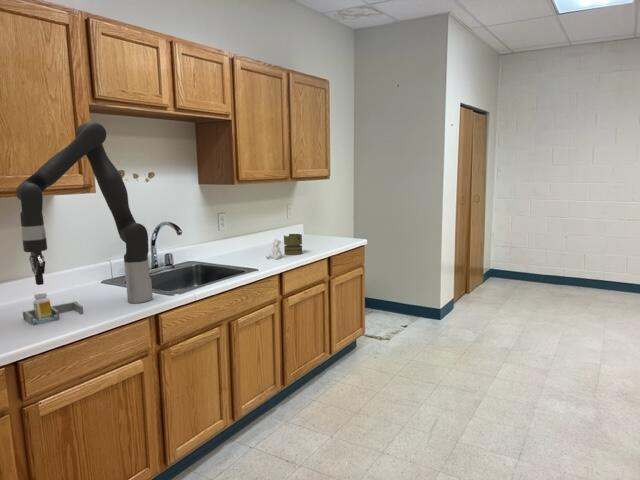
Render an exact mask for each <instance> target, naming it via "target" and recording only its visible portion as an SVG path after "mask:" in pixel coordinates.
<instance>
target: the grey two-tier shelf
mask: <svg viewBox="0 0 640 480" xmlns="http://www.w3.org/2000/svg"><path fill="white" fill-rule="evenodd" d="M50 306H51V312H52V318H54V315H58V318H59V320H60V319H61V318H60V314H61V313H66V312H71V311H75V312H77V313H78V314H80V315H84V306H83V305H81V304H80V303H78V301H71V302H67V303H62V304H56V305H50ZM22 319H23V321H26V322H27V323H28V324H29V325H30V326H34V325H33V323H32V322H33V320H34V319H36V317H35V311H34V309H30V310H26V311H22Z"/></svg>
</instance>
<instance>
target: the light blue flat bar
mask: <svg viewBox="0 0 640 480" xmlns="http://www.w3.org/2000/svg"><path fill="white" fill-rule="evenodd" d="M59 318H60V317H59ZM59 318H58V315H54V317H52V318H51V319H47V320H41V321H37V319H36V318H34V320H33V322H32V323H33V325H32V326H37V325H41V324H45V323H46V324H47V323H51V322H57V321H60V319H59Z"/></svg>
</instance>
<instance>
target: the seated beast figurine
mask: <svg viewBox="0 0 640 480" xmlns="http://www.w3.org/2000/svg"><path fill="white" fill-rule="evenodd" d="M280 244H282V241H281V240H279V239H278V238H274V239H273V241H272V248H271V253H268V254H267V255H265V259H267V260H269V259H270V260H274V261H279V260H280V259H281V258H282V256H283V253H282V251H281V249H280Z"/></svg>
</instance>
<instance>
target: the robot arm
mask: <svg viewBox="0 0 640 480" xmlns="http://www.w3.org/2000/svg"><path fill="white" fill-rule="evenodd" d="M106 139H107V131H106V128H105V127H104V126H103V124H101V123H98V122H96V121H89V122H85V123H81V124H79V125H78V127H77V128H76V130H75V138H74V139H73V141H71V142H70V143H69V144H68V145H67V146H65V147H64V148H63V149H62V150H60V151H59V152H57V153H56V154H54V155H53V156H52V157H51V158H49V159H48V160H47V161H45V163H44V164H42V166H40V167H39V168H38V169H37V171H35V172H34V173H33V174H32V175H30V176H29V177H27V178H26V179H25V180H24V181H22V182H21V183H19V185H18V186H17V188H16V190H15V196H16V197H17V199H18V200H20V204H21V211H20V225H21V238H22V239H21V240H22V247H23V248H22V249H23V252H25V253H30V255H29V256H28V260H29V263H30V267H31V272H32V273H33V274H34V279H35V280H34V281H35V284H36V285H37V286H41V285H44V274H45V270H46V261H45V256H44V255H43V254H42V252H45V251H47V250H48V243H47V233H46V227H45V224H44V216H43V215H44V214H43V203H44V202H43V200H44V199H43V197H44V196H43V193H44V191H45V190H46V189H47V188H49V187H51V186H53V185H55V183H57V181H58V180H60V179H61V178H62V177H63V176H64V175H65V174H66V173H67V172H68V171H69V170H70V169H71V168H72V167H73V166H74V165H75V164H76V163H77V162H78V161H80V160H81V159H82V158H84V157H85V156H86V159H87V161H88V162H89V165H90V167H91V170H92V173H93V175H94V177H95V180H96V181H97V184H98V187H99V190H100V192H101V193H102V196H103V198H104V199H105V200H104V201H105V202H106V205H107V208H109V211H110V212H111V215H112V217H113V219H114V223H115V226H116V229H117V233H118V235H119V238H120V239H121V240H122V242H124V243H125V254H124V255H123V262H124V264H123V265H124V275H125V284H126V285H125V286H126V297H127V298H126V299H127V302H128V303H130V304H139V303H140V304H141V303H145V302H149V301H150V300H153V298H154V297H153V286H152V285H153V284H152V278H151V276H150V273H149V259H148V255H149V251H150V249H149V234H148V230H147V228H146V227H145V226H144V224H141V223H138V222H137V221H136V220H135V218H134V216H133V214H132V212H131V209H130V203H129V197H128V196H129V195H128V190H127V187H126V185H125V182H124V179H123V177H122V176H121V173H120V172H119V171H118V169H117V167H116V166H115V165H114V163H113V162H112V161H111V159H110V158H109V156H108V155H107V153H106V151H105V147H104V145H103V144H104V142H105V140H106Z"/></svg>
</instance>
